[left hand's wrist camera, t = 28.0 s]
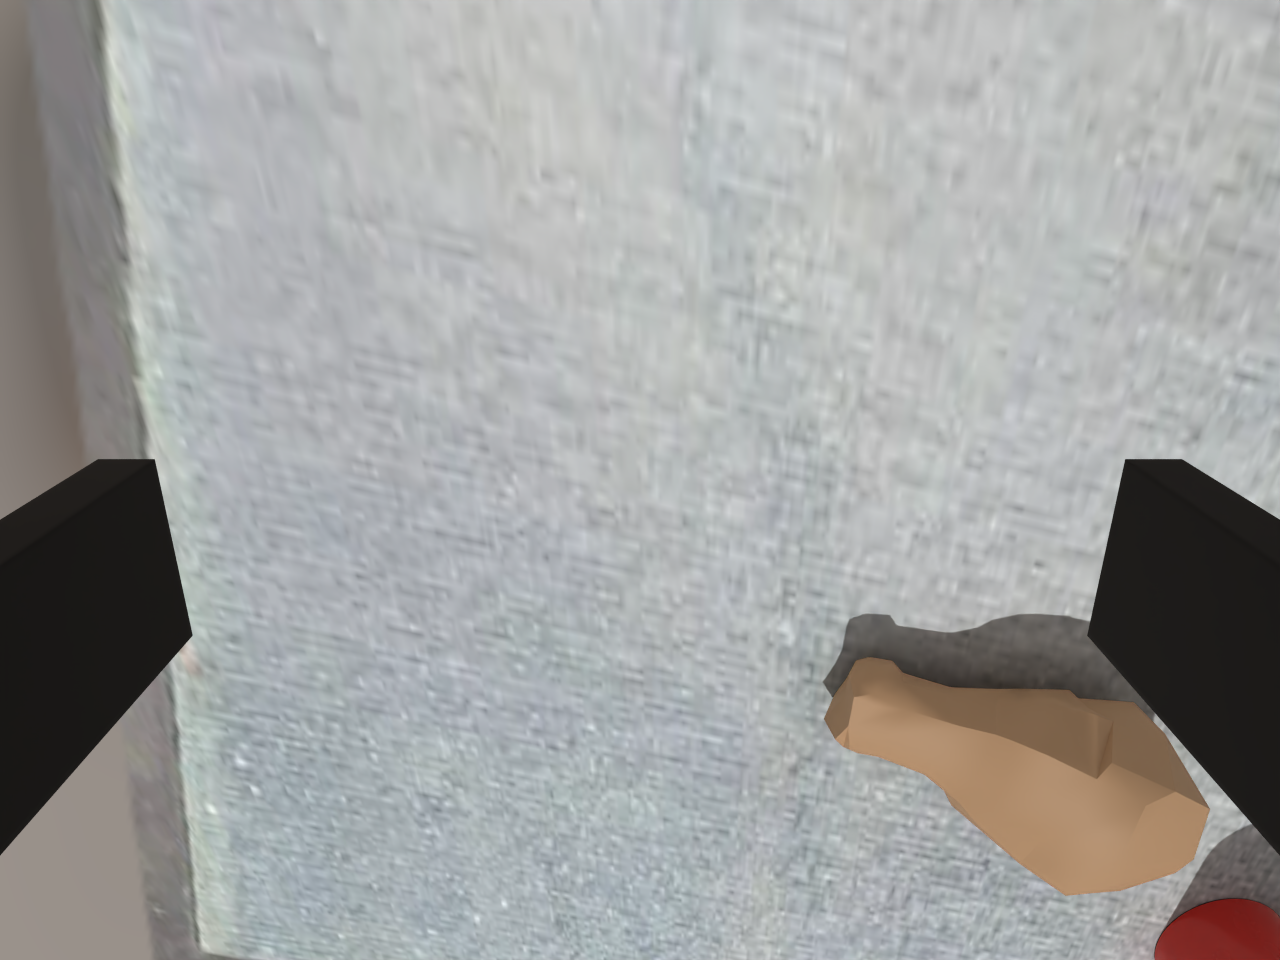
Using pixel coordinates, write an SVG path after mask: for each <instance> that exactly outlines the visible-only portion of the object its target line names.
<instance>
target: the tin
mask: <svg viewBox="0 0 1280 960" xmlns="http://www.w3.org/2000/svg"><path fill="white" fill-rule="evenodd" d="M1155 960H1280V917H1279V916H1278V914H1277V913H1276V912H1274V911H1273V910H1272V909H1271V908H1269V907H1267V906H1266V905H1263V904H1261V903H1259V902H1255V901H1252V900H1246V899H1224V900H1217V901H1213V902H1209V903H1206V904H1203V905H1200V906H1198V907H1195V908H1193V909H1191V910H1189V911H1187V912H1185V913H1184V914H1182V915H1181V916H1179V917H1178V918H1177V919H1176V920H1174V921H1173V922H1172V923H1171V924H1170V925H1169V926H1168V927H1167V928H1166V929H1165V931H1164V932H1163V933H1162V935H1161V937H1160V938H1159V940H1158V943H1157V945H1156V949H1155Z"/></svg>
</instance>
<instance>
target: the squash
mask: <svg viewBox="0 0 1280 960" xmlns="http://www.w3.org/2000/svg"><path fill="white" fill-rule="evenodd" d="M824 720H825V722H826V723H827V725H828V727H829V729H830V731H831V733H832V734H833V736H834V738H835V739H836V740H837V741H838V742H839V743H840V744H841V745H842V746H843V747H845V748H847V749H850V750H852V751H854V752H856V753H860V754H866V755H872V756H878V757H880V758H883V759H885V760H888V761H891V762H893V763H896V764H899V765H901V766H904V767H906V768H909V769H912V770H914V771H917V772H920V773H922V774H924V775H926V776H927V777H928V778H929V779H931V780H932V781H933V782H934V783H936V784H937V785H938V786H939V787H940V788H942V789H943V790H944V791H945V793H946V795H947V797H948V799H949V801H950V803H951V805H952V806H953V807H954V808H955V809H956V810H958V811H959V812H960V813H961V814H962V815H963V816H965V817H966V818H967V819H968V820H969V821H970V822H972V823H973V824H974V825H975V826H976V827H977V828H979V829H980V830H981V831H982V832H983V833H984V834H986V835H987V836H988V837H989V838H990V839H991V840H993V841H994V842H995V843H996V844H997V845H998V846H1000V847H1001V848H1002V849H1003V850H1004V851H1005V852H1007V853H1008V854H1009V855H1010V856H1011V857H1013V858H1014V859H1015V860H1016V861H1017V862H1018V863H1020V864H1021V865H1022V866H1024V867H1025V868H1027V869H1028V870H1030V871H1031V872H1032V873H1034V874H1035V875H1037V876H1038V877H1040V878H1041V879H1042V880H1044V881H1045V882H1047V883H1048V884H1050V885H1051V886H1053V887H1054V888H1055V889H1057V890H1058V891H1060V892H1061V893H1063V894H1064V895H1065V896H1067V895H1077V894H1087V893H1098V892H1111V891H1121V890H1124V889H1127V888H1130V887H1133V886H1136V885H1139V884H1142V883H1145V882H1149V881H1152V880H1155V879H1158V878H1161V877H1164V876H1167V875H1170V874H1173V873H1176V872H1177V871H1178V870H1180V869H1181V868H1182V867H1184V866H1185V865H1186V864H1188V863H1189V862H1191V861H1192V860H1193V859H1194V857H1195V853H1196V850H1197V847H1198V844H1199V841H1200V838H1201V835H1202V832H1203V829H1204V826H1205V823H1206V820H1207V817H1208V814H1209V811H1210V808H1209V807H1208V805H1207V803H1206V802H1205V800H1204V798H1203V797H1202V795H1201V793H1200V792H1199V790H1198V788H1197V787H1196V785H1195V783H1194V782H1193V780H1192V778H1191V777H1190V775H1189V773H1188V772H1187V770H1186V768H1185V767H1184V765H1183V763H1182V762H1181V760H1180V758H1179V756H1178V755H1177V753H1176V751H1175V750H1174V748H1173V746H1172V745H1171V743H1170V741H1169V740H1168V738H1167V736H1166V735H1165V733H1164V732H1163V731H1162V730H1161V729H1160V728H1159V727H1158V726H1157V725H1156V724H1155V723H1154V722H1153V721H1152V720H1151V719H1150V718H1149V717H1148V716H1147V715H1146V714H1145V713H1144V712H1143V711H1142V710H1141V709H1140V708H1139V707H1138V706H1137V705H1136V704H1135V703H1134V702H1125V701H1111V700H1096V699H1082V698H1077V697H1076V696H1075V695H1074V694H1073V693H1072V692H1071V691H1070V690H1056V689H983V688H955V687H948V686H945V685H942V684H938V683H935V682H932V681H928V680H925V679H922V678H918V677H915V676H912V675H908V674H905V673H903V672H902V671H901V670H900V669H899V668H898V667H897V666H896V664H895V663H894V662H893V661H891V660H885V659H878V658H872V657H867V658H863V659H859V660H856V661H855V663H854V665H853V667H852V669H851V671H850V673H849V674H848V676H847V678H846V679H845V681H844V682H843V684H842V685H841V686H840V688H839V689H838V690H837V692H836V693H835V695H834V697H833V699H832V702H831V704H830V706H829V708H828V711H827V713H826V715H825V718H824Z"/></svg>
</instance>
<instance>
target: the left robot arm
mask: <svg viewBox="0 0 1280 960" xmlns="http://www.w3.org/2000/svg"><path fill="white" fill-rule="evenodd" d="M192 636H193V635H192V630H191V626H190V621H189V616H188V612H187V607H186V602H185V598H184V593H183V589H182V584H181V579H180V575H179V570H178V565H177V561H176V556H175V551H174V547H173V542H172V537H171V533H170V528H169V524H168V519H167V514H166V510H165V505H164V500H163V496H162V491H161V486H160V482H159V477H158V472H157V468H156V463H155V459H98V460H96V461H94V462H93V463H91V464H90V465H88V466H86V467H85V468H83V469H82V470H80V471H78V472H77V473H75V474H73V475H72V476H70V477H69V478H67V479H65V480H64V481H62V482H61V483H59V484H57V485H56V486H54V487H52V488H51V489H49V490H48V491H46V492H44V493H43V494H41V495H39V496H38V497H36V498H35V499H33V500H31V501H30V502H28V503H27V504H25V505H23V506H22V507H20V508H19V509H17V510H15V511H14V512H12V513H10V514H9V515H7V516H6V517H4V518H2V519H1V520H0V855H1V854H2V853H3V851H4V850H5V849H6V848H7V847H8V846H9V845H10V844H11V842H12V841H13V840H14V839H15V838H16V837H17V835H18V834H19V833H20V832H21V831H22V830H23V829H24V827H25V826H26V825H27V824H28V823H29V822H30V821H31V820H32V818H33V817H34V816H35V815H36V814H37V813H38V812H39V810H40V809H41V808H42V807H43V806H44V805H45V804H46V802H47V801H48V800H49V799H50V798H51V797H52V796H53V794H54V793H55V792H56V791H57V790H58V789H59V787H60V786H61V785H62V784H63V783H64V782H65V781H66V780H67V778H68V777H69V776H70V775H71V774H72V773H73V772H74V770H75V769H76V768H77V767H78V766H79V765H80V763H81V762H82V761H83V760H84V759H85V758H86V757H87V756H88V754H89V753H90V752H91V751H92V750H93V749H94V748H95V746H96V745H97V744H98V743H99V742H100V741H101V740H102V738H103V737H104V736H105V735H106V734H107V733H108V732H109V730H110V729H111V728H112V727H113V726H114V725H115V724H116V722H117V721H118V720H119V719H120V718H121V717H122V716H123V714H124V713H125V712H126V711H127V710H128V709H129V708H130V706H131V705H132V704H133V703H134V702H135V701H136V700H137V698H138V697H139V696H140V695H141V694H142V693H143V692H144V690H145V689H146V688H147V687H148V686H149V685H150V684H151V682H152V681H153V680H154V679H155V678H156V677H157V676H158V674H159V673H160V672H161V671H162V670H163V669H164V668H165V666H166V665H167V664H168V663H169V662H170V661H171V660H172V658H173V657H174V656H175V655H176V654H177V653H178V652H179V650H180V649H181V648H182V647H183V646H184V645H185V644H186V642H187V641H188V640H189V639H190V638H191V637H192ZM1087 636H1088V637H1089V638H1090V639H1091V640H1092V641H1093V642H1094V644H1095V645H1096V646H1097V647H1098V648H1099V649H1100V650H1101V652H1102V653H1103V654H1104V655H1105V656H1106V657H1107V658H1108V660H1109V661H1110V662H1111V663H1112V664H1113V665H1114V666H1115V668H1116V669H1117V670H1118V671H1119V672H1120V673H1121V674H1122V676H1123V677H1124V678H1125V679H1126V680H1127V681H1128V682H1129V684H1130V685H1131V686H1132V687H1133V688H1134V689H1135V690H1136V692H1137V693H1138V694H1139V695H1140V696H1141V697H1142V698H1143V700H1144V701H1145V702H1146V703H1147V704H1148V705H1149V706H1150V708H1151V709H1152V710H1153V711H1154V712H1155V713H1156V714H1157V716H1158V717H1159V718H1160V719H1161V720H1162V721H1163V722H1164V724H1165V725H1166V726H1167V727H1168V728H1169V729H1170V730H1171V732H1172V733H1173V734H1174V735H1175V736H1176V737H1177V738H1178V740H1179V741H1180V742H1181V743H1182V744H1183V745H1184V746H1185V748H1186V749H1187V750H1188V751H1189V752H1190V753H1191V754H1192V756H1193V757H1194V758H1195V759H1196V760H1197V761H1198V762H1199V764H1200V765H1201V766H1202V767H1203V768H1204V769H1205V770H1206V772H1207V773H1208V774H1209V775H1210V776H1211V777H1212V778H1213V780H1214V781H1215V782H1216V783H1217V784H1218V785H1219V786H1220V788H1221V789H1222V790H1223V791H1224V792H1225V793H1226V794H1227V796H1228V797H1229V798H1230V799H1231V800H1232V801H1233V802H1234V804H1235V805H1236V806H1237V807H1238V808H1239V809H1240V810H1241V812H1242V813H1243V814H1244V815H1245V816H1246V817H1247V818H1248V820H1249V821H1250V822H1251V823H1252V824H1253V825H1254V826H1255V828H1256V829H1257V830H1258V831H1259V832H1260V833H1261V834H1262V836H1263V837H1264V838H1265V839H1266V840H1267V841H1268V842H1269V844H1270V845H1271V846H1272V847H1273V848H1274V849H1275V850H1276V852H1277V853H1278V854H1279V855H1280V520H1279V519H1278V518H1276V517H1275V516H1273V515H1271V514H1270V513H1268V512H1266V511H1265V510H1263V509H1262V508H1260V507H1258V506H1257V505H1255V504H1253V503H1252V502H1250V501H1249V500H1247V499H1245V498H1244V497H1242V496H1241V495H1239V494H1237V493H1236V492H1234V491H1232V490H1231V489H1229V488H1228V487H1226V486H1224V485H1223V484H1221V483H1219V482H1218V481H1216V480H1215V479H1213V478H1211V477H1210V476H1208V475H1207V474H1205V473H1203V472H1202V471H1200V470H1198V469H1197V468H1195V467H1194V466H1192V465H1190V464H1189V463H1187V462H1186V461H1184V460H1182V459H1125V463H1124V468H1123V472H1122V477H1121V482H1120V486H1119V491H1118V496H1117V500H1116V505H1115V510H1114V514H1113V519H1112V523H1111V528H1110V533H1109V537H1108V542H1107V547H1106V551H1105V556H1104V561H1103V565H1102V570H1101V575H1100V579H1099V584H1098V589H1097V593H1096V598H1095V602H1094V607H1093V612H1092V616H1091V621H1090V626H1089V630H1088V635H1087Z"/></svg>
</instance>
